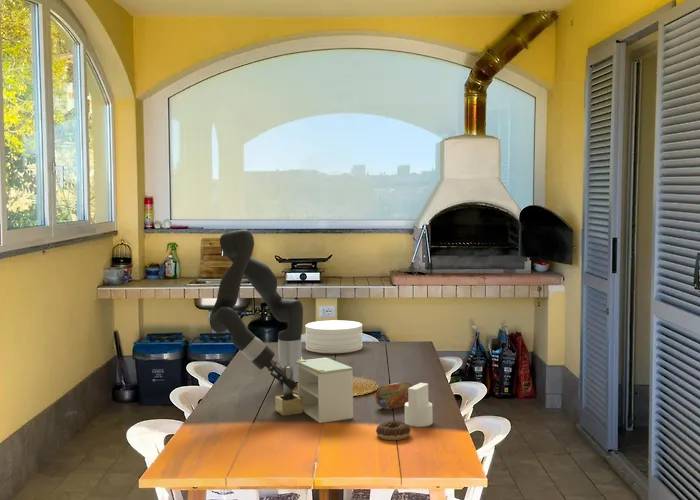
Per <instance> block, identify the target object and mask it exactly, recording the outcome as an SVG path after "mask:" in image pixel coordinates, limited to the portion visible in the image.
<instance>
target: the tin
mask: <svg viewBox="0 0 700 500" xmlns="http://www.w3.org/2000/svg"><path fill="white" fill-rule="evenodd" d="M412 386H413V384H411V383H410V382H404V381H400V382H395V383H394V382H393V383H388V384H383V385H380V387H378V388H377V390H376V391H375V403H376V404H377V405H378V406H379V407H380V408H382V409H384V410H391V409H392V410H393V409H397V408H403V407H404V408H405V403H406V402H408V388H410V387H412Z"/></svg>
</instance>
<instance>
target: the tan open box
mask: <svg viewBox="0 0 700 500" xmlns="http://www.w3.org/2000/svg"><path fill="white" fill-rule="evenodd" d="M274 401H275V412H277V413H279V414H280V416H291V415H297V414H303V397H302V396H300V395H298V394H296V393H293V399H289V400H284V394H283V395H275V398H274Z"/></svg>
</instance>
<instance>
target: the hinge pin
mask: <svg viewBox="0 0 700 500" xmlns="http://www.w3.org/2000/svg"><path fill="white" fill-rule="evenodd" d="M283 371H284V372H285V373H284V374H285V375H286V376H287V377H288V378H289V379H290V380H291V381H292V382H293V366H284V367H283ZM293 394H294V389H293V390H291V389H290V388H289V387H287V386H286V385H285V384H283V395H284V400H289V399H293Z"/></svg>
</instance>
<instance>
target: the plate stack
mask: <svg viewBox="0 0 700 500" xmlns="http://www.w3.org/2000/svg"><path fill="white" fill-rule="evenodd" d="M305 349H306V350H307V351H310V352H313V353H319V354H320V353H321V354H341V353H352V352H357V351H359V350H362V349H363V324H362V323H361V322H360V321H353V320H341V319H340V320H339V319H333V320H331V319H329V320H318V321H312V322H311V321H310V322H308V323H307V324H305Z"/></svg>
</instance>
